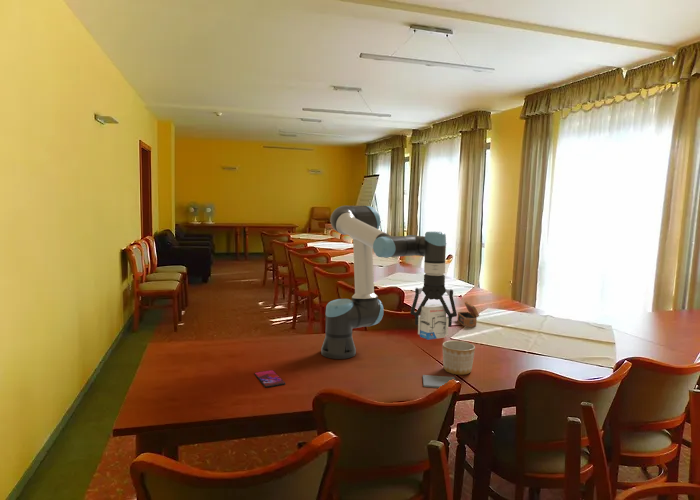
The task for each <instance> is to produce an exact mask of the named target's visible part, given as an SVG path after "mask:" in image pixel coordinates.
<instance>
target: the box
mask: <svg viewBox="0 0 700 500" xmlns="http://www.w3.org/2000/svg"><path fill="white" fill-rule="evenodd" d="M464 305H465V307H466V309H467V311H459V312H457V322H458V323H459V324H461V325H462V326H463V327H465V328H476V327H477V319H478V317H480V314H479V312H478V310H477V309H476V307H475V306H474V305H472V304H471V303H469V302H468V301H465V302H464Z"/></svg>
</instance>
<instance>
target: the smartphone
mask: <svg viewBox="0 0 700 500" xmlns="http://www.w3.org/2000/svg"><path fill="white" fill-rule="evenodd" d="M254 375H255V377H256V378H257V380H258V381H259V382H260V383H261V384H262V385H263V387H264V388H265V389H270V388H274V387H281V386H285V385H286V382H285V381H284V380H283V378H281V377H280V375H279V374H278V373H276V372H275V370H272V369H270V370H266V371H265V370H264V371H258V372H254Z"/></svg>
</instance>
